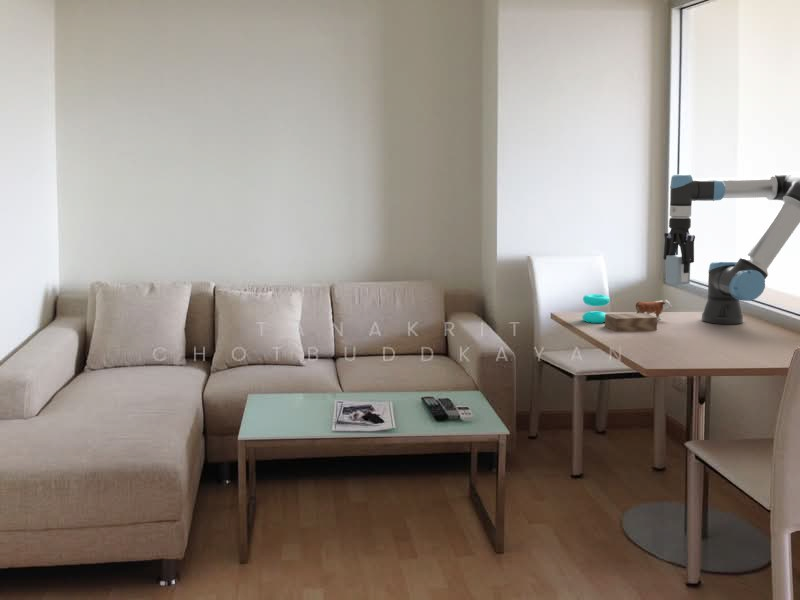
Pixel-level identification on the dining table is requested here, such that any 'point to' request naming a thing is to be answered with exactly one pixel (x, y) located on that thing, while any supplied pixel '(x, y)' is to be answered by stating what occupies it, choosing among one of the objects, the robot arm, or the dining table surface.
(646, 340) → the dining table surface
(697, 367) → the dining table surface
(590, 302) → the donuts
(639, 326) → the plinth
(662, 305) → the bull figurine
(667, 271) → the column
